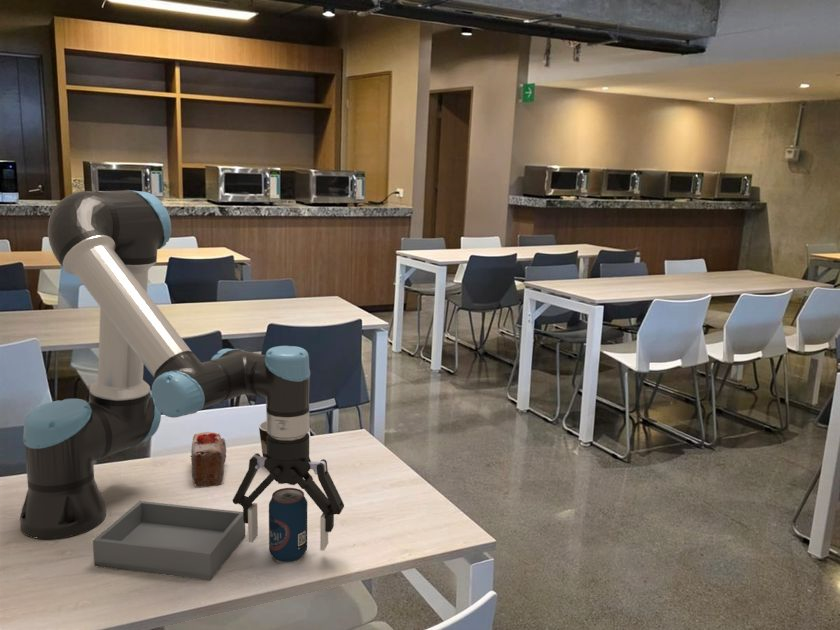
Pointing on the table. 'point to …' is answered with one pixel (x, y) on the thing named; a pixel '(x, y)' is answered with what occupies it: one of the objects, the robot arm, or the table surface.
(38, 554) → the table surface
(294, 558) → the soda can
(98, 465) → the table surface
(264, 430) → the coffee mug
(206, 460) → the food item
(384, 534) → the table surface
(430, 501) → the table surface
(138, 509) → the bin
